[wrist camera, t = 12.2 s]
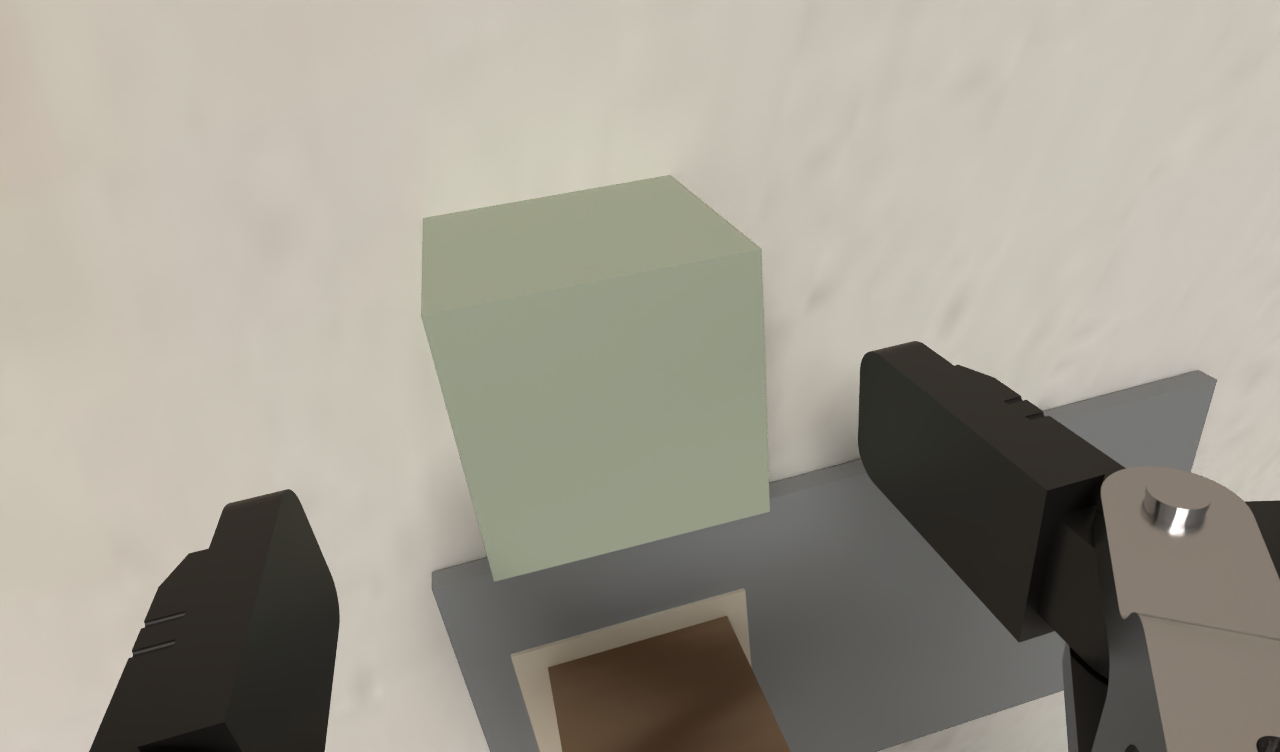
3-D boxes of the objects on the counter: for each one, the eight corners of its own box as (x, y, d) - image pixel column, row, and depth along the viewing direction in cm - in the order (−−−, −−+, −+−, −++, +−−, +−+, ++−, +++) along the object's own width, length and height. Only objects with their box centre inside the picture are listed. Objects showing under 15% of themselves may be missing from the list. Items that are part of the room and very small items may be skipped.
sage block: (669, 174, 16) (761, 249, 11) (688, 384, 18) (770, 511, 14) (423, 216, 15) (421, 315, 10) (477, 431, 17) (494, 581, 13)
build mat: (1198, 370, 22) (1220, 381, 21) (1120, 654, 28) (1136, 669, 27) (431, 571, 19) (431, 592, 18) (528, 845, 24) (531, 867, 24)
